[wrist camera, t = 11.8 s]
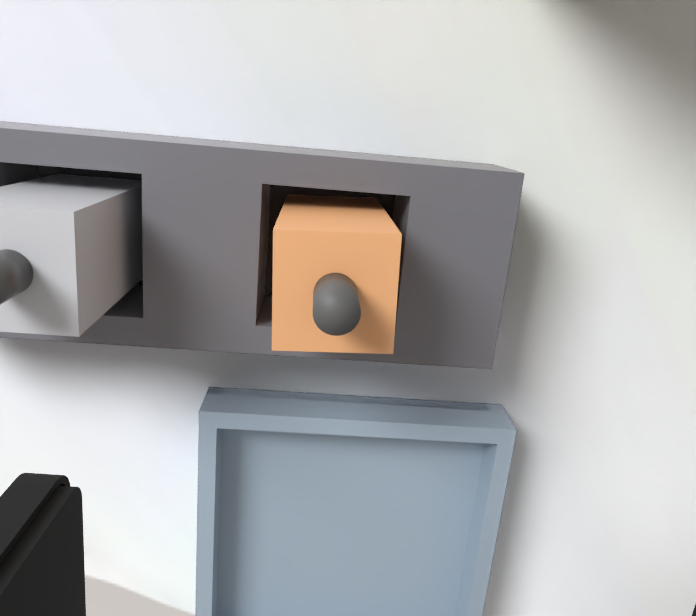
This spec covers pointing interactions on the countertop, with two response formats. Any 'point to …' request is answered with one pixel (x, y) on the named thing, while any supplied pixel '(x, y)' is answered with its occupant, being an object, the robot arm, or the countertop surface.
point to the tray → (347, 504)
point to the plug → (334, 275)
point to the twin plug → (67, 251)
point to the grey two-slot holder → (252, 239)
